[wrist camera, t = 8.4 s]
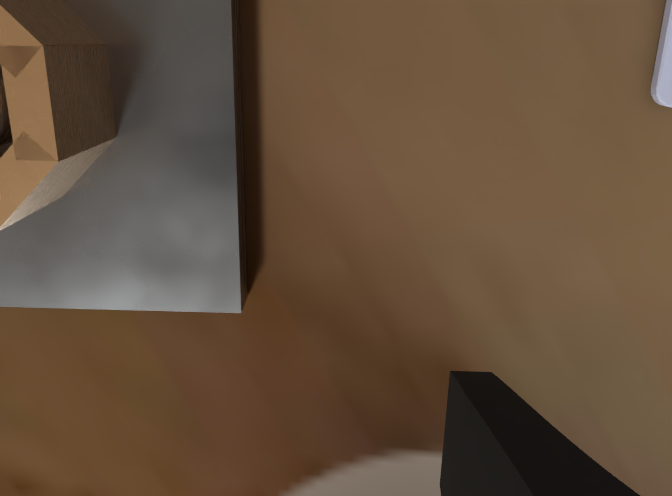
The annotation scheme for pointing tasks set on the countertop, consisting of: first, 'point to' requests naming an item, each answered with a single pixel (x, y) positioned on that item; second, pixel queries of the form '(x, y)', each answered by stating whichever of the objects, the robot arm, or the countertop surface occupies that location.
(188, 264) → the piston stand
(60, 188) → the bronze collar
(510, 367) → the countertop surface
